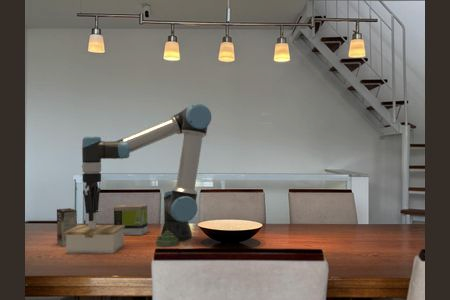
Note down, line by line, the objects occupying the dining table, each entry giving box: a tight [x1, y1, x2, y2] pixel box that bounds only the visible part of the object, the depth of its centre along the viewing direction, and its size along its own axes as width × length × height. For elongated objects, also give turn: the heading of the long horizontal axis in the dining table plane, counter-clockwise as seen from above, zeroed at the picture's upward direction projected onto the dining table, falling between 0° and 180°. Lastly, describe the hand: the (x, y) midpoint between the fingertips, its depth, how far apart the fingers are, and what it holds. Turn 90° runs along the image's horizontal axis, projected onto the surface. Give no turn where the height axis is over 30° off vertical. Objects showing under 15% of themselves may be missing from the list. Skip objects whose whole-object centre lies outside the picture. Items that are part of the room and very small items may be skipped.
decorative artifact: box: [155, 229, 179, 248], centre depth 174 cm, size 10×7×10 cm
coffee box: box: [56, 208, 78, 248], centre depth 178 cm, size 9×6×16 cm
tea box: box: [113, 204, 149, 236], centre depth 200 cm, size 15×10×15 cm
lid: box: [64, 224, 125, 238], centre depth 166 cm, size 21×16×2 cm
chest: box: [65, 229, 125, 255], centre depth 167 cm, size 20×14×8 cm
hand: (92, 228), depth 163 cm, fingers closed
